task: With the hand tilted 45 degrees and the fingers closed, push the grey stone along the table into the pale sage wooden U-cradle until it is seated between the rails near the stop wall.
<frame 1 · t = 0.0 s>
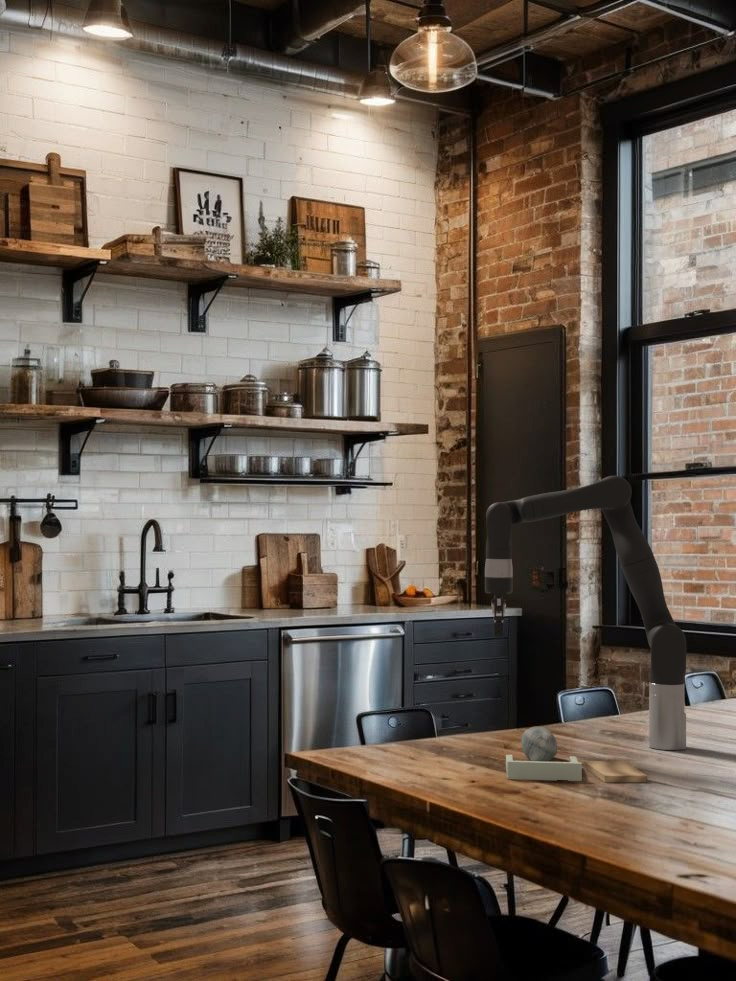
hand: (498, 635, 328), 29 cm above the table, tool pointing down, fingers open, 8 cm apart
grey stone: (539, 761, 304), on the table
cradle: (542, 772, 288), on the table
oak board: (614, 774, 286), on the table
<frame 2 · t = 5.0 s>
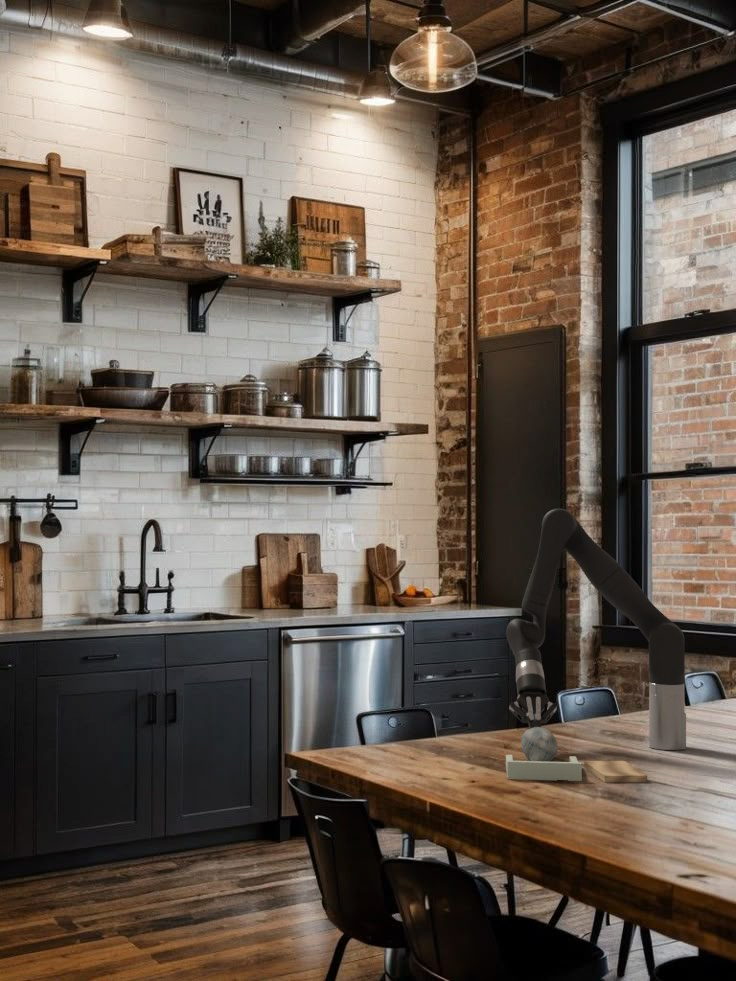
hand: (536, 734, 310), 5 cm above the table, tool tilted 45°, fingers closed
grey stone: (539, 762, 302), on the table, touching gripper
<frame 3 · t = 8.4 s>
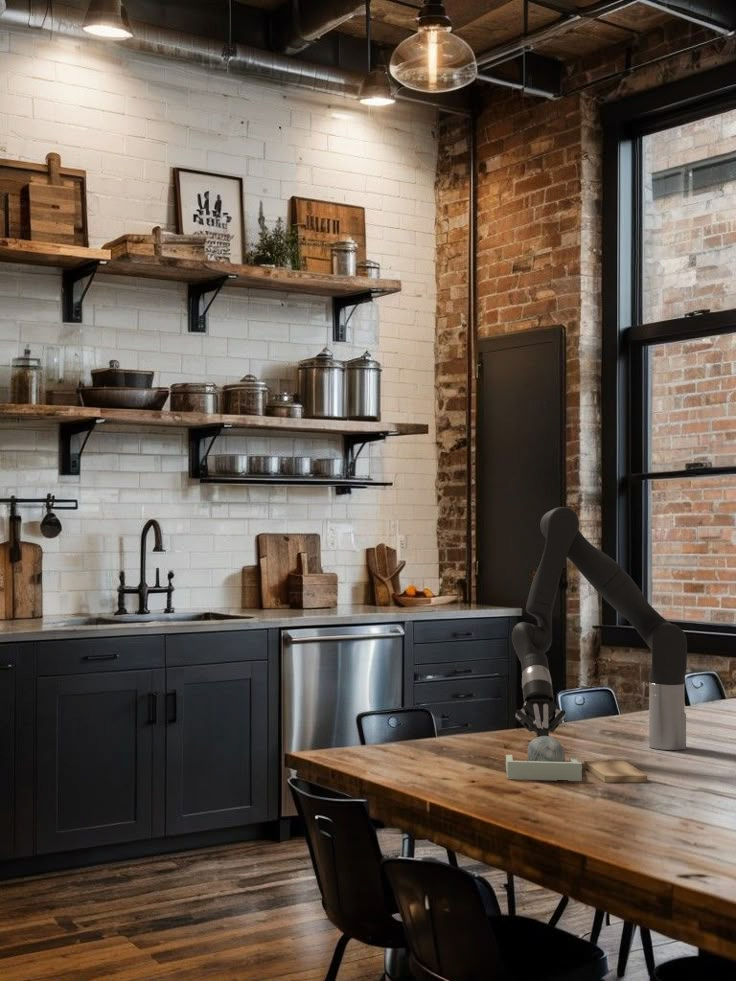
hand: (543, 743, 296), 5 cm above the table, tool tilted 45°, fingers closed
grey stone: (546, 772, 289), on the table, touching gripper
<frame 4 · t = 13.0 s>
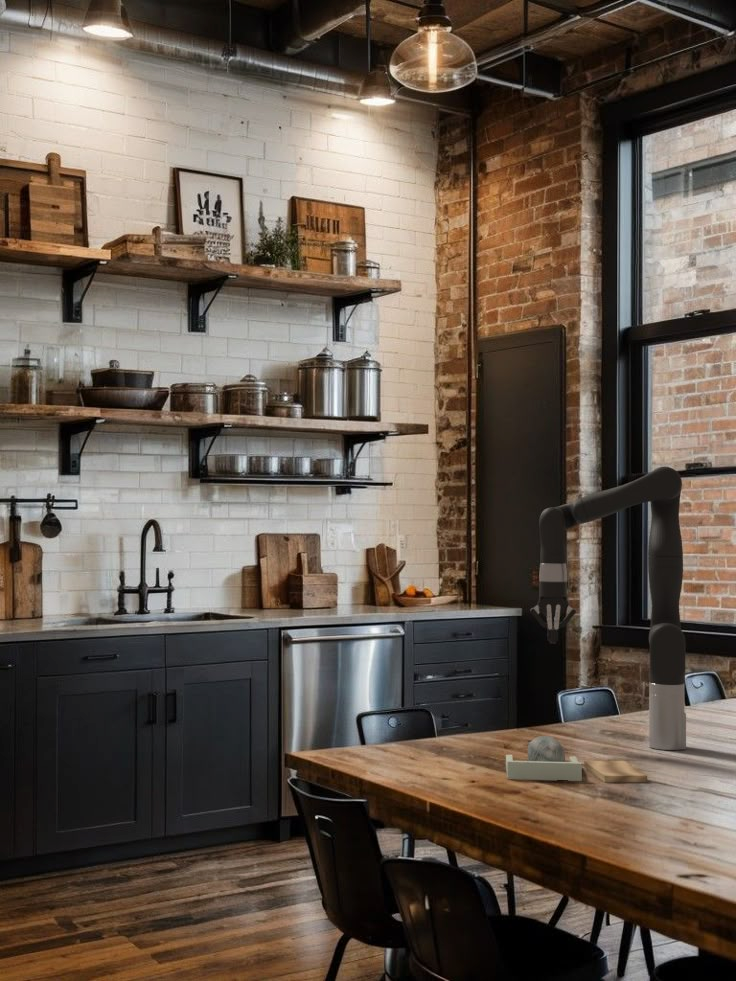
hand: (552, 642, 332), 27 cm above the table, tool pointing down, fingers closed
grey stone: (546, 772, 289), on the table
at the end: grey stone inside the target area (1.2 cm from its centre), on the table; grey stone moved 14.6 cm from its start; the gripper is holding nothing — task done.
